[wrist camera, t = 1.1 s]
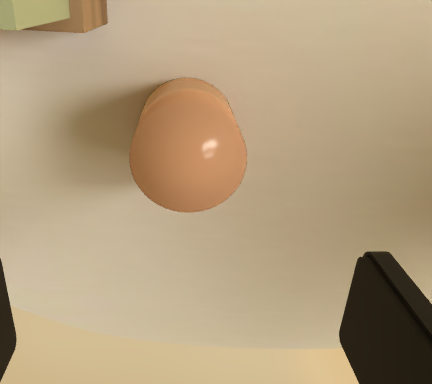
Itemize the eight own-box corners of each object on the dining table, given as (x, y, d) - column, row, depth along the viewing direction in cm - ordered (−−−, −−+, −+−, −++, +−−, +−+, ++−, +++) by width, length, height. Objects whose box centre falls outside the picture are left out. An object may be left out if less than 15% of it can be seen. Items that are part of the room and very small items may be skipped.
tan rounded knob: (236, 80, 24) (252, 105, 19) (229, 168, 27) (241, 213, 21) (140, 75, 24) (127, 100, 18) (141, 165, 26) (131, 211, 21)
